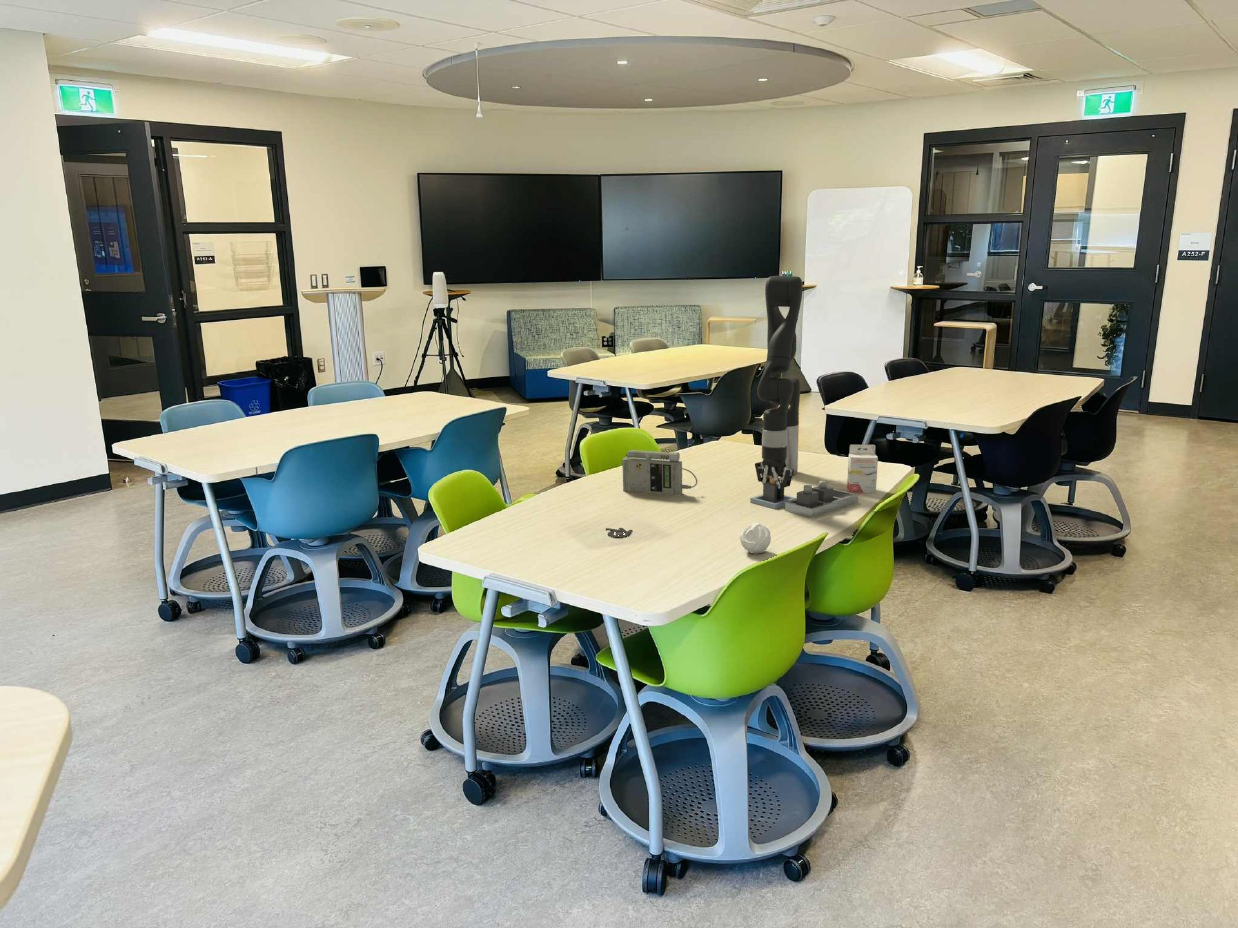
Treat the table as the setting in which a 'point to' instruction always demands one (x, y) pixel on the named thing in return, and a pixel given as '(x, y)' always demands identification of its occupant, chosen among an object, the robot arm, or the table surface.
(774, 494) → the plug
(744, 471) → the table surface
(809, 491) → the twin plug
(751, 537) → the crumpled white ball
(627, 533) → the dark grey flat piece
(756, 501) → the tray
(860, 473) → the ink cartridge box
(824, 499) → the twin plug
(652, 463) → the geiger counter
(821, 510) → the strip
